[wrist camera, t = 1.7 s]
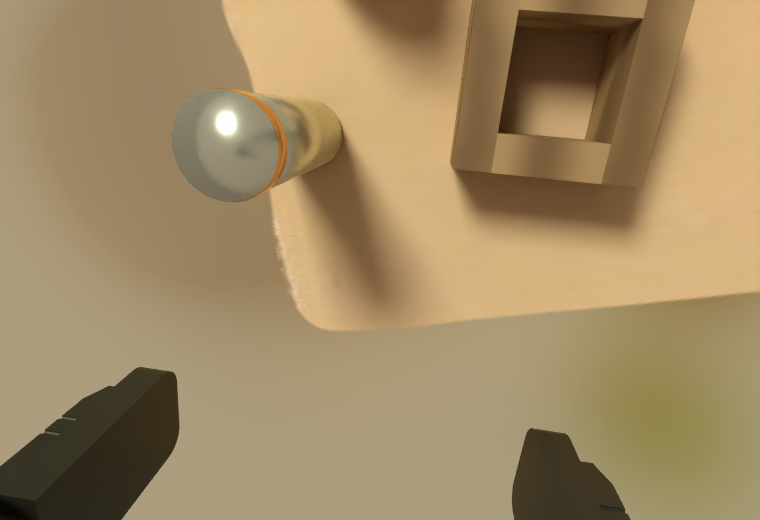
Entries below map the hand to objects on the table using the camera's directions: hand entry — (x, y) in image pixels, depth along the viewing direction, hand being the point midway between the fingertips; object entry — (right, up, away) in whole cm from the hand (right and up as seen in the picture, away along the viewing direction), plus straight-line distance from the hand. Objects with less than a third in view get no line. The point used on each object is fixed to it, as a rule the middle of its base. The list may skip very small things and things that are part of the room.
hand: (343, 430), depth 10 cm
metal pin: (-5, +14, +24) cm, 28 cm away
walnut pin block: (+13, +16, +21) cm, 30 cm away
